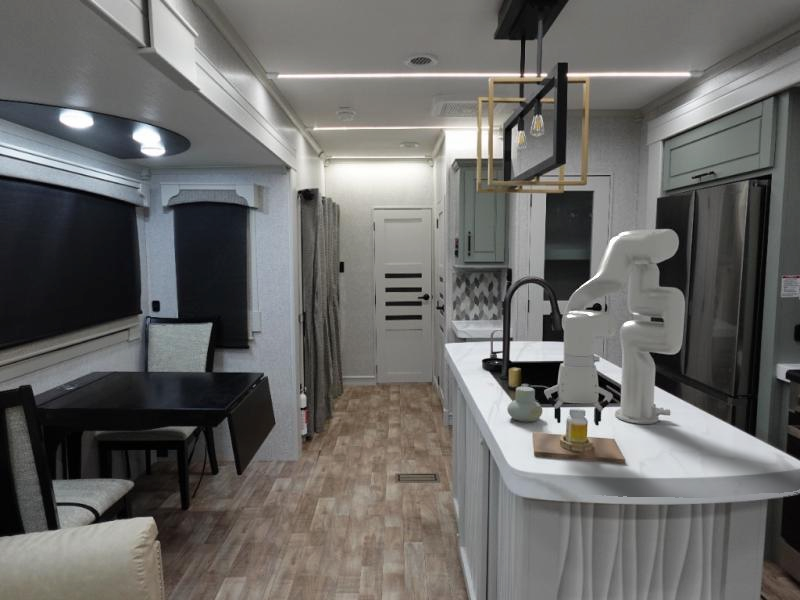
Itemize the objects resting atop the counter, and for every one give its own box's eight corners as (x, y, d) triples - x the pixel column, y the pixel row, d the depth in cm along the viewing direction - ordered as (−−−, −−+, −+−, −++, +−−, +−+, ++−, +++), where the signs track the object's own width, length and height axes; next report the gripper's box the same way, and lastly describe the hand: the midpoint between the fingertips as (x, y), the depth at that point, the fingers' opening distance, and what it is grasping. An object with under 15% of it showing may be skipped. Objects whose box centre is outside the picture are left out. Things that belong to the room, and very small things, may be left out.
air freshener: (525, 426, 148) (525, 394, 148) (503, 419, 155) (504, 388, 154) (545, 418, 155) (546, 388, 154) (524, 412, 162) (524, 383, 161)
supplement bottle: (561, 442, 132) (562, 408, 131) (576, 439, 134) (577, 405, 133) (576, 449, 127) (577, 414, 126) (591, 446, 130) (592, 411, 129)
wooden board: (614, 442, 135) (614, 433, 135) (625, 463, 121) (625, 453, 121) (532, 436, 140) (532, 427, 140) (534, 455, 127) (534, 445, 126)
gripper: (610, 358, 130) (609, 419, 132) (543, 356, 134) (543, 415, 136) (616, 364, 123) (614, 429, 125) (545, 362, 127) (544, 425, 129)
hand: (577, 422), depth 130 cm, fingers open, 9 cm apart
